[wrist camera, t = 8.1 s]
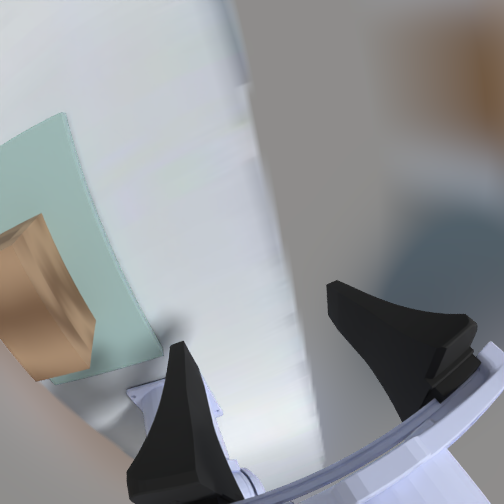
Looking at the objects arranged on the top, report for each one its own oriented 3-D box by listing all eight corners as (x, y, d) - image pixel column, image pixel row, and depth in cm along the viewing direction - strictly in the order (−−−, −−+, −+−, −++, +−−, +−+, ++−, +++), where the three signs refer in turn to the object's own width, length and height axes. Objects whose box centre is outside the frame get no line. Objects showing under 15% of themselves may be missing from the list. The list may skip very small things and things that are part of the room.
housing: (96, 320, 19) (89, 368, 15) (47, 335, 18) (35, 381, 14) (41, 212, 15) (12, 244, 10) (-9, 238, 14) (-41, 273, 9)
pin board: (162, 347, 23) (166, 377, 20) (56, 377, 21) (52, 405, 18) (65, 112, 13) (47, 111, 11) (-53, 187, 11) (-78, 201, 8)
